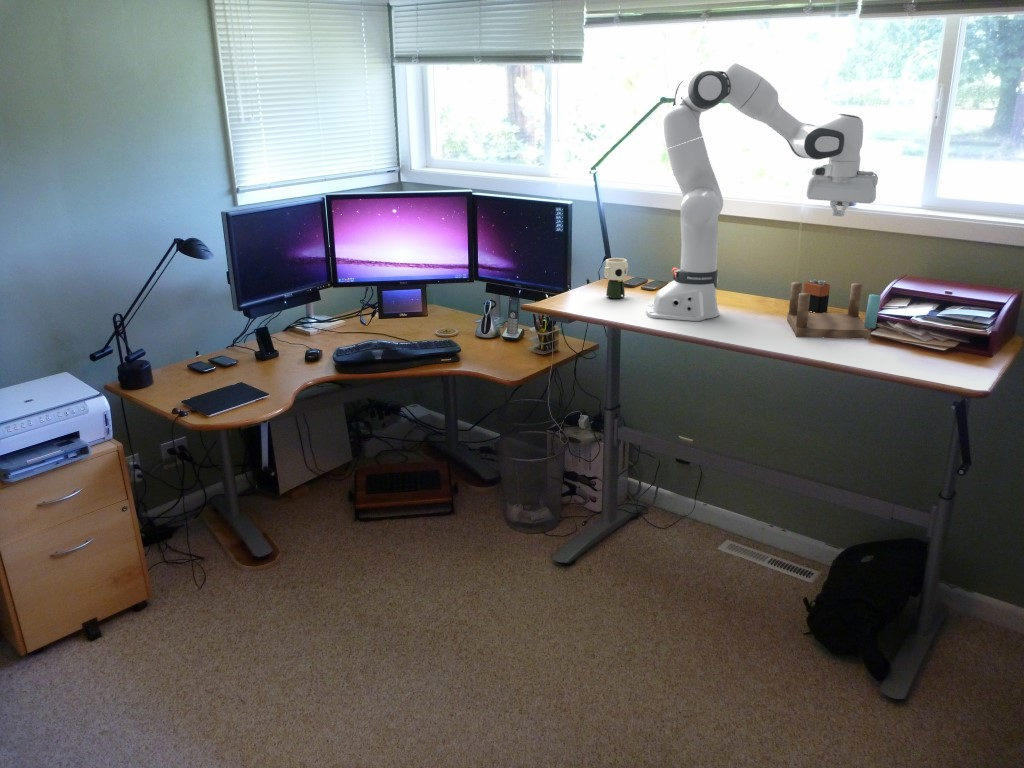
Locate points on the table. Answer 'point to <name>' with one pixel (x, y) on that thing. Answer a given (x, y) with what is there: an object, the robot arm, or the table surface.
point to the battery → (817, 295)
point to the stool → (825, 317)
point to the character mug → (616, 276)
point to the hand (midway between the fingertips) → (838, 216)
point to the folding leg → (872, 311)
